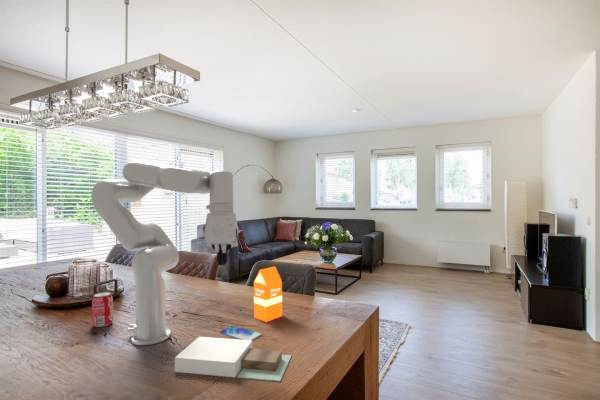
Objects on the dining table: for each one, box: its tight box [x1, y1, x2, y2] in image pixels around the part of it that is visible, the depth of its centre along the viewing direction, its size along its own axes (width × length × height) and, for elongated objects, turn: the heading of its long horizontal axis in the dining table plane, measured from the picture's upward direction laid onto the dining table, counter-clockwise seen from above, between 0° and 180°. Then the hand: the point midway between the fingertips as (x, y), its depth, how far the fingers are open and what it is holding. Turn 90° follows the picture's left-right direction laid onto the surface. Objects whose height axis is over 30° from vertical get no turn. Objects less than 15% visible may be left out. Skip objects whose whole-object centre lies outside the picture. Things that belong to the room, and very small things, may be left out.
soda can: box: [91, 291, 114, 328], centre depth 126 cm, size 7×7×12 cm
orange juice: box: [253, 266, 283, 323], centre depth 132 cm, size 8×9×20 cm
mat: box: [236, 354, 292, 382], centre depth 93 cm, size 12×14×1 cm
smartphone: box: [218, 325, 263, 342], centre depth 116 cm, size 7×1×15 cm
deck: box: [174, 336, 253, 378], centre depth 96 cm, size 18×14×4 cm
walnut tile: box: [241, 347, 283, 371], centre depth 94 cm, size 10×7×2 cm
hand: (222, 264), depth 106 cm, fingers closed
